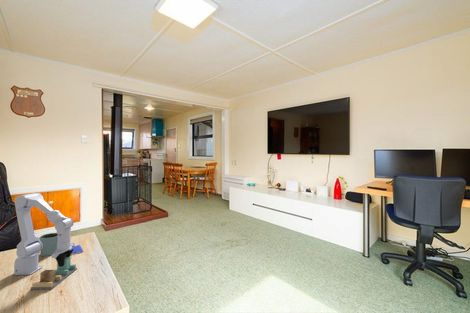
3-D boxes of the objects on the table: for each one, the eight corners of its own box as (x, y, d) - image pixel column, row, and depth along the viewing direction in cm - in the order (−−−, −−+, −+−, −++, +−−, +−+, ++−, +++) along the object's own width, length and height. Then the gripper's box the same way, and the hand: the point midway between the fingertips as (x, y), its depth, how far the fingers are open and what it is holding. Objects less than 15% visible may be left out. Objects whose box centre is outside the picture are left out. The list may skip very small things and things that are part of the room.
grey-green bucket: (37, 253, 138) (37, 235, 138) (56, 248, 147) (56, 231, 147) (42, 258, 133) (42, 239, 133) (62, 252, 141) (62, 234, 141)
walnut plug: (40, 285, 105) (40, 273, 105) (45, 281, 108) (45, 269, 108) (50, 284, 105) (50, 273, 105) (55, 281, 108) (55, 269, 108)
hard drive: (65, 248, 145) (68, 254, 137) (79, 244, 151) (83, 250, 142) (65, 250, 145) (68, 256, 137) (79, 246, 151) (83, 252, 142)
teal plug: (57, 270, 116) (57, 259, 116) (61, 267, 119) (61, 256, 119) (66, 270, 116) (66, 259, 116) (70, 267, 119) (70, 256, 119)
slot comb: (30, 289, 102) (30, 283, 102) (58, 269, 120) (58, 264, 120) (52, 289, 103) (52, 283, 103) (76, 269, 121) (77, 264, 121)
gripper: (61, 246, 110) (61, 271, 110) (80, 235, 125) (79, 258, 125) (47, 246, 110) (47, 271, 110) (67, 235, 124) (67, 258, 124)
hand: (63, 264), depth 117 cm, fingers closed on teal plug, 3 cm apart
